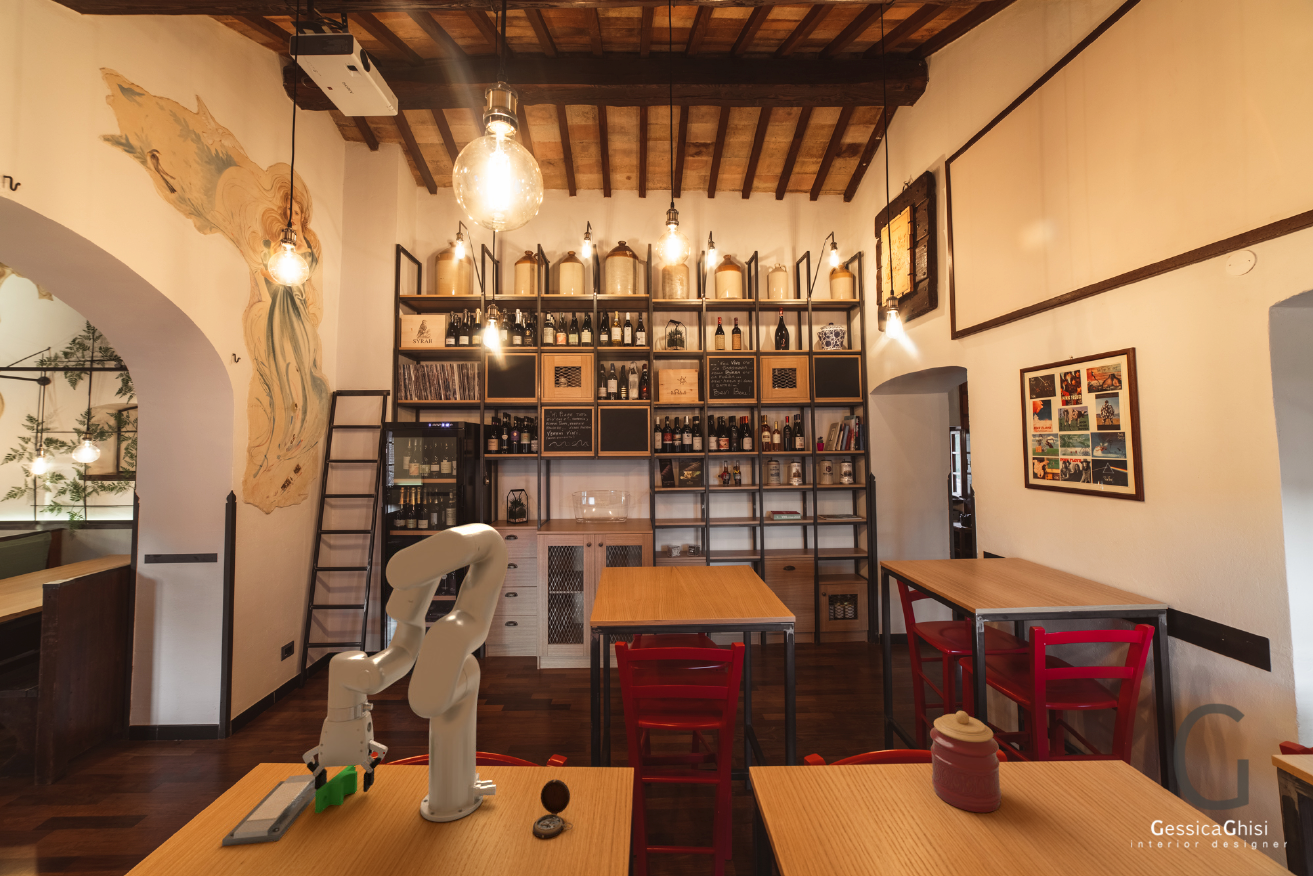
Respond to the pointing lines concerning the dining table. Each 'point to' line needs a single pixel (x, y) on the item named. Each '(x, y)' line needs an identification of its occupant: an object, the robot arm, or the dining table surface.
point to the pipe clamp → (336, 789)
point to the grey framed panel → (274, 812)
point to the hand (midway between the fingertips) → (344, 790)
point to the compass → (552, 809)
